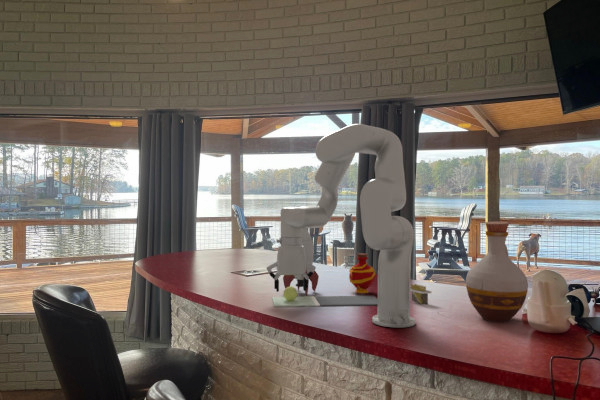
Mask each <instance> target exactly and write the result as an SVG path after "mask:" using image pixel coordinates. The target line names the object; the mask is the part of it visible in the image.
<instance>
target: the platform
mask: <svg viewBox="0 0 600 400" xmlns="http://www.w3.org/2000/svg"><path fill="white" fill-rule="evenodd" d="M410 292H411V301H413V302H418V303H419V304H420V305H423V304H425V305H426V306H427V305H428V303H429V300H428V299H429V297H428V295H429V294H432V291H431V290H427V286H425V285H420V284H416V283H414V284H411V283H410Z"/></svg>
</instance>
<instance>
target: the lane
mask: <svg viewBox="0 0 600 400" xmlns="http://www.w3.org/2000/svg"><path fill="white" fill-rule="evenodd" d="M271 298H272V303H273V307H274V308H286V307H287V308H289V307H291V308H292V307H295V308H297V307H298V306H299V308H300V306H305V307H357V306H360V307H362V306H363V307H364V306H367V307H368V306H372V307H373V306H378V297H376V296H375V295H337V296H336V295H326V296H325V295H324V296H323V295H321V296H317V295H316V296H313V295H312V296H308V295H307V296H297V298H296V299H295V300H293V301H288V300H286V299H285V298H284V296H272V297H271Z"/></svg>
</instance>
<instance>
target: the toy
mask: <svg viewBox="0 0 600 400" xmlns="http://www.w3.org/2000/svg"><path fill="white" fill-rule="evenodd" d="M313 245H314V241H312V236H311V234H310V233H309V229H302V246H304V248H305V256H306V262H307V263H309V264H311V265H314V246H313ZM310 270H311V268H309V267H307V266H306V274H308V273H309V272H310ZM303 279H304V276H303V275H283V277H282V281H283V285H284V286H283V287H284V290H285V289H286V288H287V287H291V283H292V282H293V281H294V280H296V281H297V282H296V284H295V287H297V291H299V290H300V288H303ZM310 282H311V290H312V291H313V292H316V289H317V286H318V283H319V274H318V273H317V271H316V270H315V271H314V272H313V275H312V276H311V277H310V278H309V279H308V286H309V283H310ZM304 293H305V294H304V295H305V297H308V293H309V287H308V288H306V291H304Z"/></svg>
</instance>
